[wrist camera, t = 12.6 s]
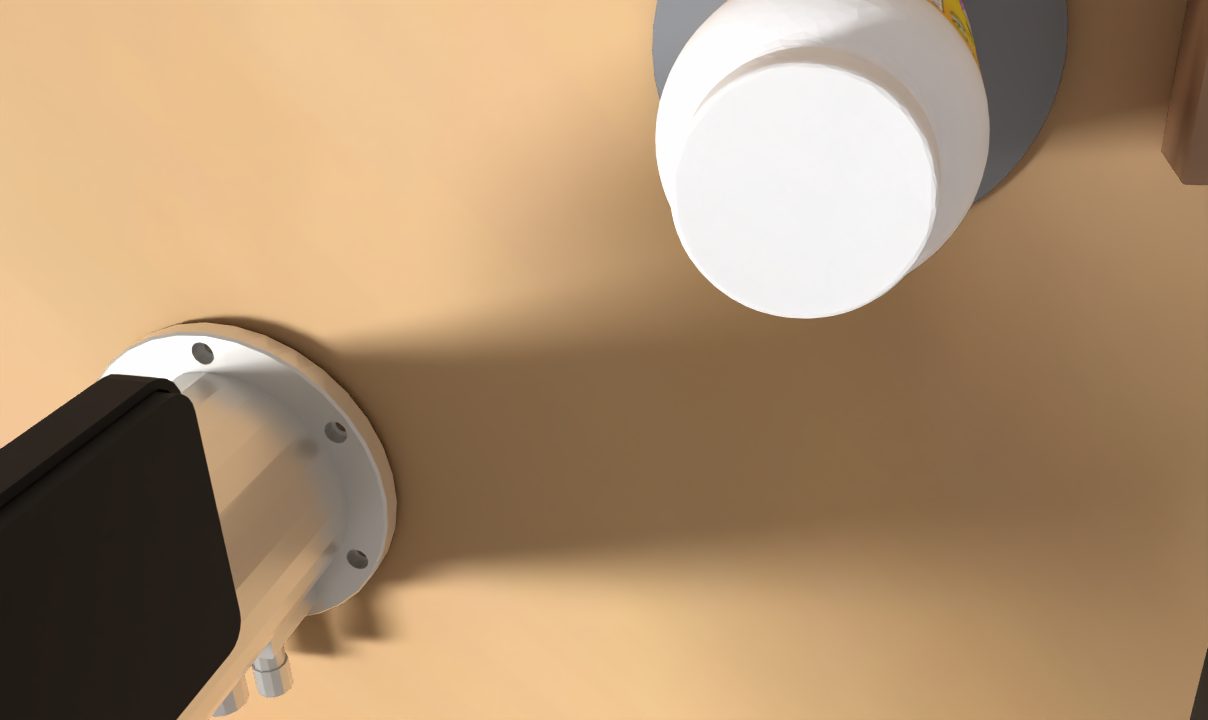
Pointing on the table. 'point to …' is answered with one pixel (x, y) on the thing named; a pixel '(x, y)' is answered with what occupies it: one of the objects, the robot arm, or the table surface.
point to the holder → (1190, 101)
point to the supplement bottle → (821, 146)
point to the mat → (1005, 55)
